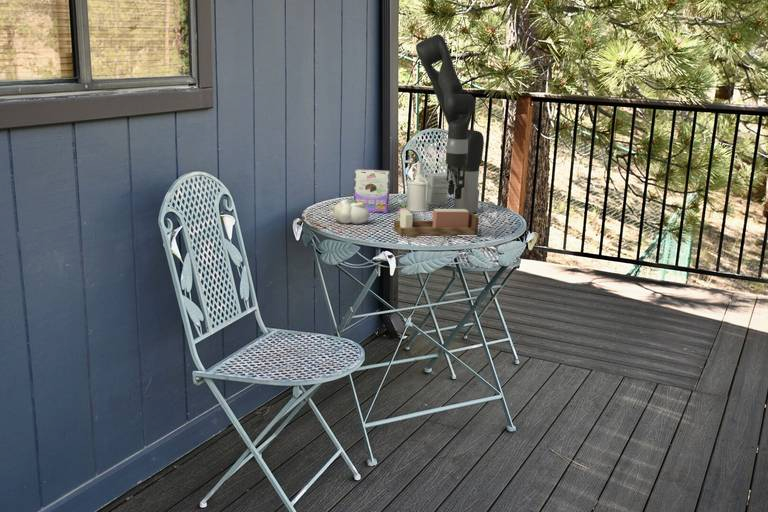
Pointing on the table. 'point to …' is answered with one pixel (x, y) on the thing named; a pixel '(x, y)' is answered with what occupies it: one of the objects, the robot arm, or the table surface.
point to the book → (450, 218)
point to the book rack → (426, 228)
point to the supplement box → (437, 188)
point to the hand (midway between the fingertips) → (454, 196)
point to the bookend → (406, 219)
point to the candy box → (373, 189)
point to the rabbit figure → (403, 209)
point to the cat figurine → (350, 212)
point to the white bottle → (418, 191)
